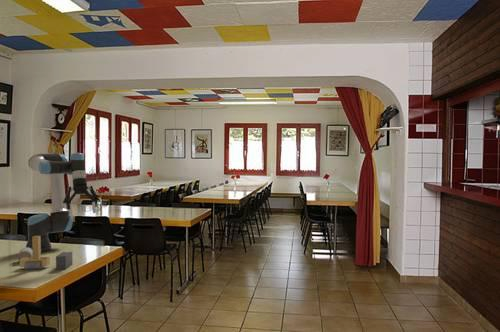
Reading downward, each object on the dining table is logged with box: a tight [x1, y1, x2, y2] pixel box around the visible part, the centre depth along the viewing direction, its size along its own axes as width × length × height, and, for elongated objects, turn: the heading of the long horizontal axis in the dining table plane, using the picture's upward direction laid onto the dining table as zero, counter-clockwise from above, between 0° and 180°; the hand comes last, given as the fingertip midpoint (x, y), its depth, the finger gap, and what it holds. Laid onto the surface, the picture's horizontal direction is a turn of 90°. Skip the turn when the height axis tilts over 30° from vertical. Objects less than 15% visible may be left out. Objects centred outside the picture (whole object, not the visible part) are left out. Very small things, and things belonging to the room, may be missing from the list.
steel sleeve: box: [23, 262, 46, 271], centre depth 212 cm, size 7×8×4 cm
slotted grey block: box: [55, 251, 73, 271], centre depth 214 cm, size 10×5×7 cm, turn 6°
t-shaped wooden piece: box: [19, 236, 51, 268], centre depth 212 cm, size 4×14×16 cm, turn 95°
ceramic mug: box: [17, 246, 33, 262], centre depth 227 cm, size 11×8×8 cm
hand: (83, 214), depth 227 cm, fingers open, 13 cm apart
